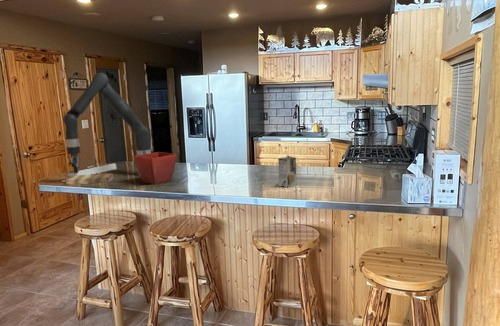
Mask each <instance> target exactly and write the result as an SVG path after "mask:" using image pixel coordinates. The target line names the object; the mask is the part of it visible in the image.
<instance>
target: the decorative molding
mask: <svg viewBox="0 0 500 326" xmlns="http://www.w3.org/2000/svg"><path fill="white" fill-rule="evenodd" d="M114 170H117V165H116V163H109V164H103V165H100V166H99V165H98V166H95V167H92V168H85V169H81V170H78V173H74V171H73V172H69V173H67V174H66V175H67V177H68V178H70V177H71V176H76V175H91V174H92V175H94V174H95V175H96V173H97V174H101V173H104V172H105V173H106V172H111V171H114Z"/></svg>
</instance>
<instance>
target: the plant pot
mask: <svg viewBox="0 0 500 326" xmlns="http://www.w3.org/2000/svg"><path fill="white" fill-rule="evenodd" d="M133 159H134V163H135V166H136V168H137V169H136V170H137V173H138V172H139V174H140V175H139V174H138V175H139V176H140V179H141V181H142V182H143V183H146V184H147V183H148V184H151V185H156V184H161V183H165V182H170V181H172V178H173V175H174V170H175V165H176V161H177V154H176V153H170V152H164V151H163V152H161V151H156V152H151V153H149V154H142V155H137V154H136V155H133Z"/></svg>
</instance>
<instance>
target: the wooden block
mask: <svg viewBox="0 0 500 326" xmlns="http://www.w3.org/2000/svg"><path fill="white" fill-rule="evenodd" d="M93 175H94V174H93ZM113 179H114V173H102V174H101V173H97V174H95V175H94V176H93V177H92V178H90V183H89V184H105V183H110V182H112V180H113Z"/></svg>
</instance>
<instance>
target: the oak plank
mask: <svg viewBox="0 0 500 326" xmlns="http://www.w3.org/2000/svg"><path fill="white" fill-rule="evenodd" d="M94 175H96V174H92V175H76V176H71V177H68V178H66V179H65V185H66V184H71V185H82V184H84V185H86V184H87V185H89V184H91V183H90V178H92V177H93V176H94ZM88 183H89V184H88Z"/></svg>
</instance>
